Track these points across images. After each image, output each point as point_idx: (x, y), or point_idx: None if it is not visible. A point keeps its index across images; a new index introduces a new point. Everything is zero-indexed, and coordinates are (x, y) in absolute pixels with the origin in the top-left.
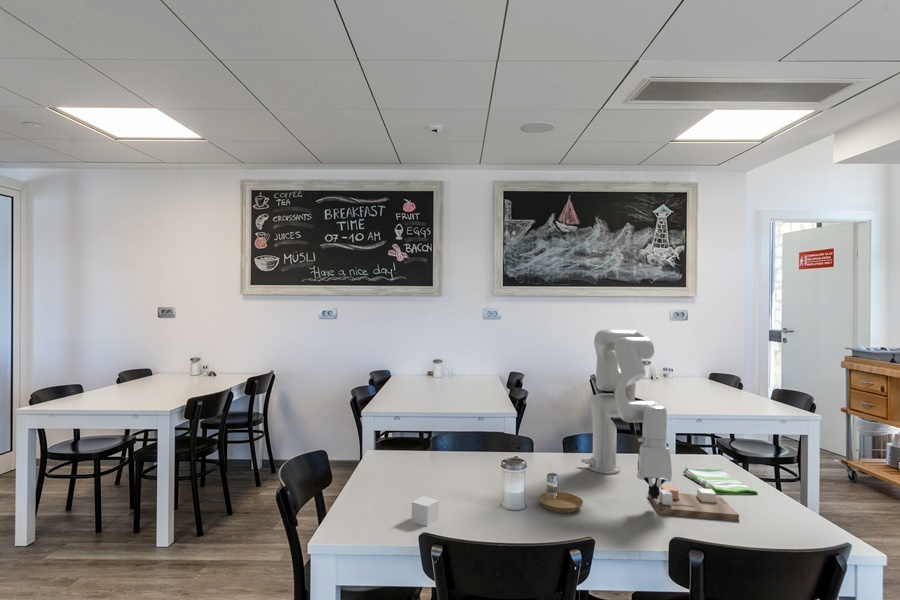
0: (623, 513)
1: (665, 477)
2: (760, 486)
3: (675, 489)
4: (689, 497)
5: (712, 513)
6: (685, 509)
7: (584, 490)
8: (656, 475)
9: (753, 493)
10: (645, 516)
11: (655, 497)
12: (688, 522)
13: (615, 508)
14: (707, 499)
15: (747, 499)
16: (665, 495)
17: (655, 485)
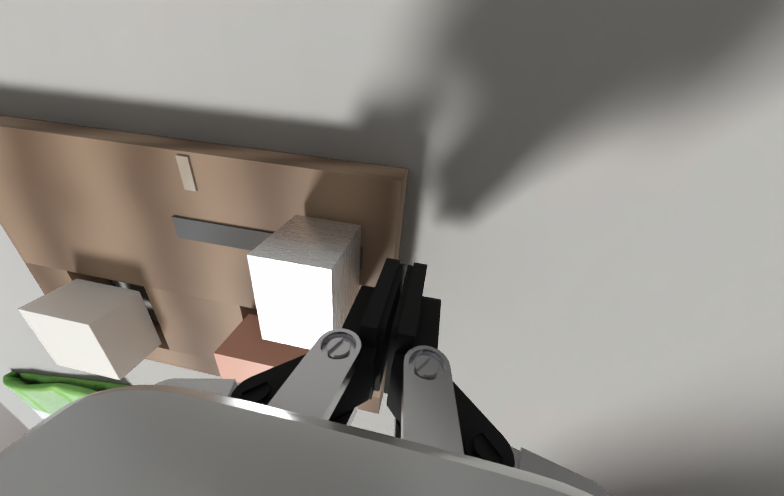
0: (705, 158)
1: (163, 411)
2: (22, 415)
3: (228, 372)
4: (194, 337)
5: (73, 135)
6: (220, 171)
7: (711, 470)
8: (322, 490)
9: (22, 378)
10: (535, 114)
11: (400, 267)
12: (241, 34)
13: (702, 250)
14: (98, 294)
15: (27, 342)
16: (312, 256)
17: (373, 356)
